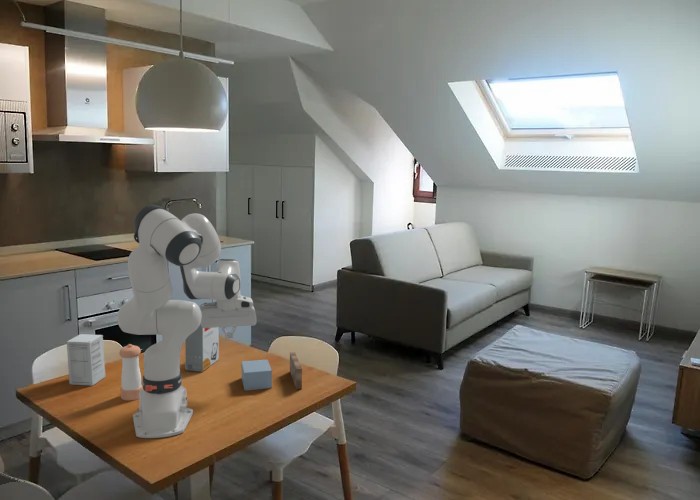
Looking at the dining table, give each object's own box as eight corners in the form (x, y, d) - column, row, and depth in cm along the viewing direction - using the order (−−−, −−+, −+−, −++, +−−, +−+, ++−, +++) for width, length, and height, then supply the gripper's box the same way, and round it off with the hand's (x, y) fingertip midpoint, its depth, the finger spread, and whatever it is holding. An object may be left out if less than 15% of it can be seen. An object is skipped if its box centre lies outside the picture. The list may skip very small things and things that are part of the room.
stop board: (301, 388, 209) (301, 368, 208) (296, 389, 209) (296, 368, 207) (294, 371, 226) (294, 352, 225) (289, 371, 226) (289, 352, 225)
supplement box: (106, 376, 217) (104, 334, 214) (93, 386, 208) (90, 342, 205) (82, 375, 218) (80, 333, 215) (68, 384, 209) (65, 341, 206)
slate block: (271, 388, 210) (271, 370, 209) (244, 390, 207) (244, 372, 206) (267, 376, 221) (267, 359, 220) (241, 378, 218) (241, 361, 217)
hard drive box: (202, 372, 223) (201, 324, 220) (185, 370, 225) (183, 322, 221) (219, 359, 238) (218, 313, 235) (202, 357, 240) (201, 312, 236)
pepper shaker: (122, 402, 195) (120, 349, 192) (119, 394, 201) (117, 343, 198) (144, 398, 198) (142, 345, 195) (140, 390, 205) (138, 340, 202)
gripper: (199, 305, 201) (200, 342, 204) (256, 302, 206) (257, 338, 208) (199, 300, 207) (200, 336, 210) (255, 298, 212) (255, 333, 214)
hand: (229, 337), depth 209 cm, fingers closed
